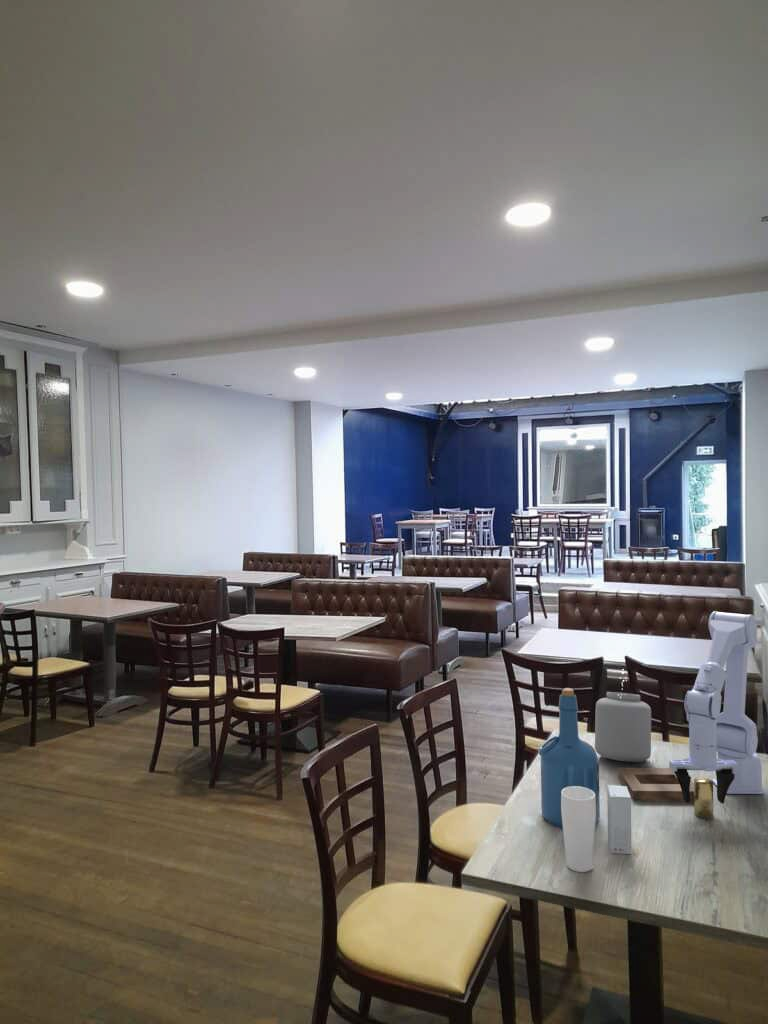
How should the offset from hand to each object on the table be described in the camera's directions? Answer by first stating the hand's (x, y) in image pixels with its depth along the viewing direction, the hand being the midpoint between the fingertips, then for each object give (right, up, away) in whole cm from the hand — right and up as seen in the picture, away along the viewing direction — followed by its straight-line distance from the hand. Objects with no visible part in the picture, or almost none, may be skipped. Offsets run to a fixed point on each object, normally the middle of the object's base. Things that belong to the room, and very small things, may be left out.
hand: (703, 801), depth 159 cm
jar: (-6, -3, +35) cm, 35 cm away
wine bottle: (-31, -4, 0) cm, 31 cm away
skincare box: (-24, -4, -13) cm, 28 cm away
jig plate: (-5, -3, +15) cm, 16 cm away
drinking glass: (-34, -5, -20) cm, 40 cm away
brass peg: (0, -3, 0) cm, 3 cm away
